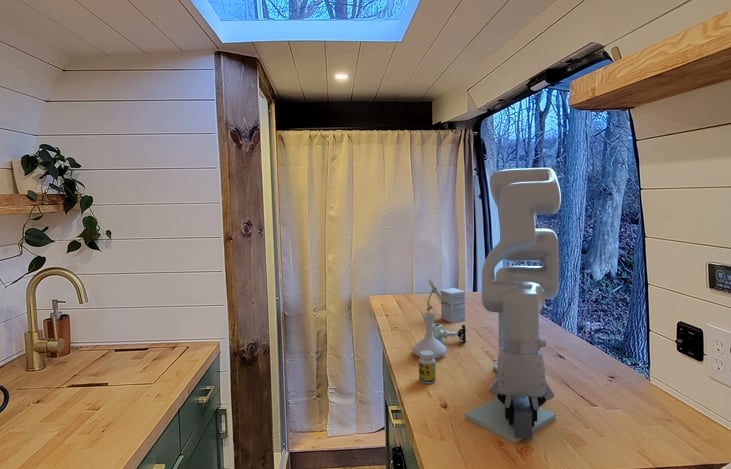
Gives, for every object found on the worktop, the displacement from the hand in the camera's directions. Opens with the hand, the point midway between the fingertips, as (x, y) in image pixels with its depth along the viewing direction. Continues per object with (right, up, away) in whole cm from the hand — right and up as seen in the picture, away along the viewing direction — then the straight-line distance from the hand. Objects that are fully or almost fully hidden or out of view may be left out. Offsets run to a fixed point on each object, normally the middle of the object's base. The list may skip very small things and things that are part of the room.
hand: (521, 422), depth 100 cm
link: (+1, 0, +4) cm, 4 cm away
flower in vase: (-13, +2, +48) cm, 50 cm away
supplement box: (+1, +6, +85) cm, 85 cm away
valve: (-6, +3, +59) cm, 59 cm away
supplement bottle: (-17, 0, +28) cm, 33 cm away
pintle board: (+1, -1, +7) cm, 7 cm away
